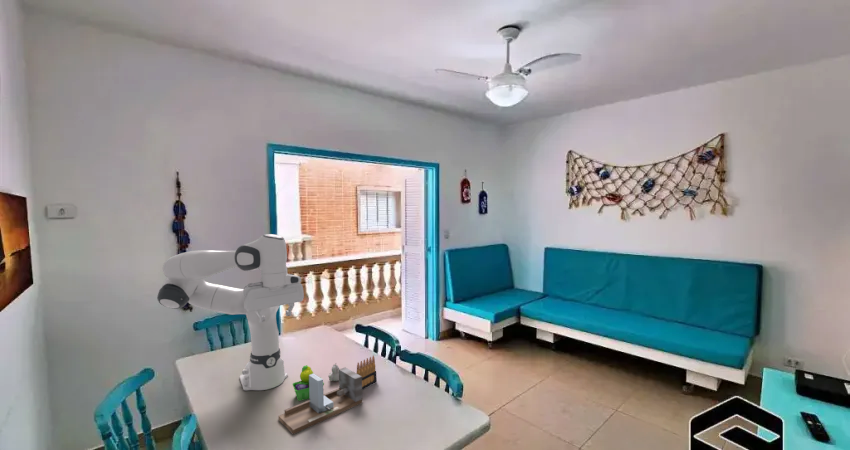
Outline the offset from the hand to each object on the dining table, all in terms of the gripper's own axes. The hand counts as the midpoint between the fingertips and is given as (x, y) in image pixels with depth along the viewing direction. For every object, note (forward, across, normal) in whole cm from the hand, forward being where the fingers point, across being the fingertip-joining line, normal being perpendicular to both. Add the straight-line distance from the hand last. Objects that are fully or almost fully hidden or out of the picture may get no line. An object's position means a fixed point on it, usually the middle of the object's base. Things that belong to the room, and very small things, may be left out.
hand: (275, 318), depth 131 cm
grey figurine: (+37, +30, +12) cm, 49 cm away
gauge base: (+37, +14, -6) cm, 40 cm away
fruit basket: (+37, +16, +9) cm, 42 cm away
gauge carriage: (+35, +14, -7) cm, 39 cm away
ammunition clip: (+37, +37, -2) cm, 53 cm away
